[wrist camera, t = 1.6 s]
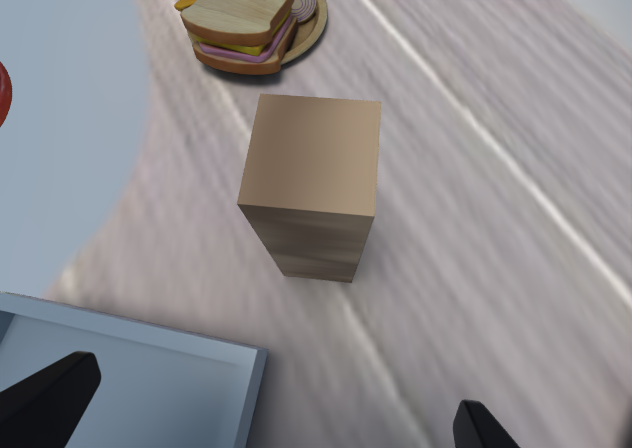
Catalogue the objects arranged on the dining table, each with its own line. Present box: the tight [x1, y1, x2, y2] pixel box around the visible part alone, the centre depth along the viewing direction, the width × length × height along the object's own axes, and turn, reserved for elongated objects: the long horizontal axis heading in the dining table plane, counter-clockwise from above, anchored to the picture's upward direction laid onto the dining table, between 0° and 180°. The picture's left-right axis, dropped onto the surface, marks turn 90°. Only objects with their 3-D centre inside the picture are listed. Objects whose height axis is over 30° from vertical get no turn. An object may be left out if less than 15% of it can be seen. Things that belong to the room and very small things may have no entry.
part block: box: [237, 94, 381, 283], centre depth 17 cm, size 4×4×12 cm
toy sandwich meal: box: [174, 0, 328, 75], centre depth 28 cm, size 12×14×5 cm
